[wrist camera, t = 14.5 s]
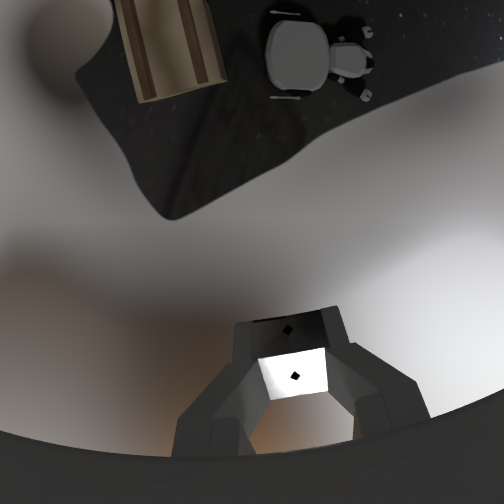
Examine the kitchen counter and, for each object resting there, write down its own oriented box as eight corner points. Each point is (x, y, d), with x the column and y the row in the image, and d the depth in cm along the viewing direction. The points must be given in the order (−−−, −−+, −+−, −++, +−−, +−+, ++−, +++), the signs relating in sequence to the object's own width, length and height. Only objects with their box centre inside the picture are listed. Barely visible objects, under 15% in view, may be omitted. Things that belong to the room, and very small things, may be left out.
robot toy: (365, 27, 36) (262, 16, 35) (378, 22, 32) (266, 8, 31) (364, 104, 42) (262, 98, 41) (377, 106, 38) (266, 98, 37)
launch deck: (198, -38, 31) (182, -68, 21) (227, 81, 40) (219, 78, 30) (132, -16, 32) (101, -37, 22) (159, 100, 41) (132, 104, 32)
